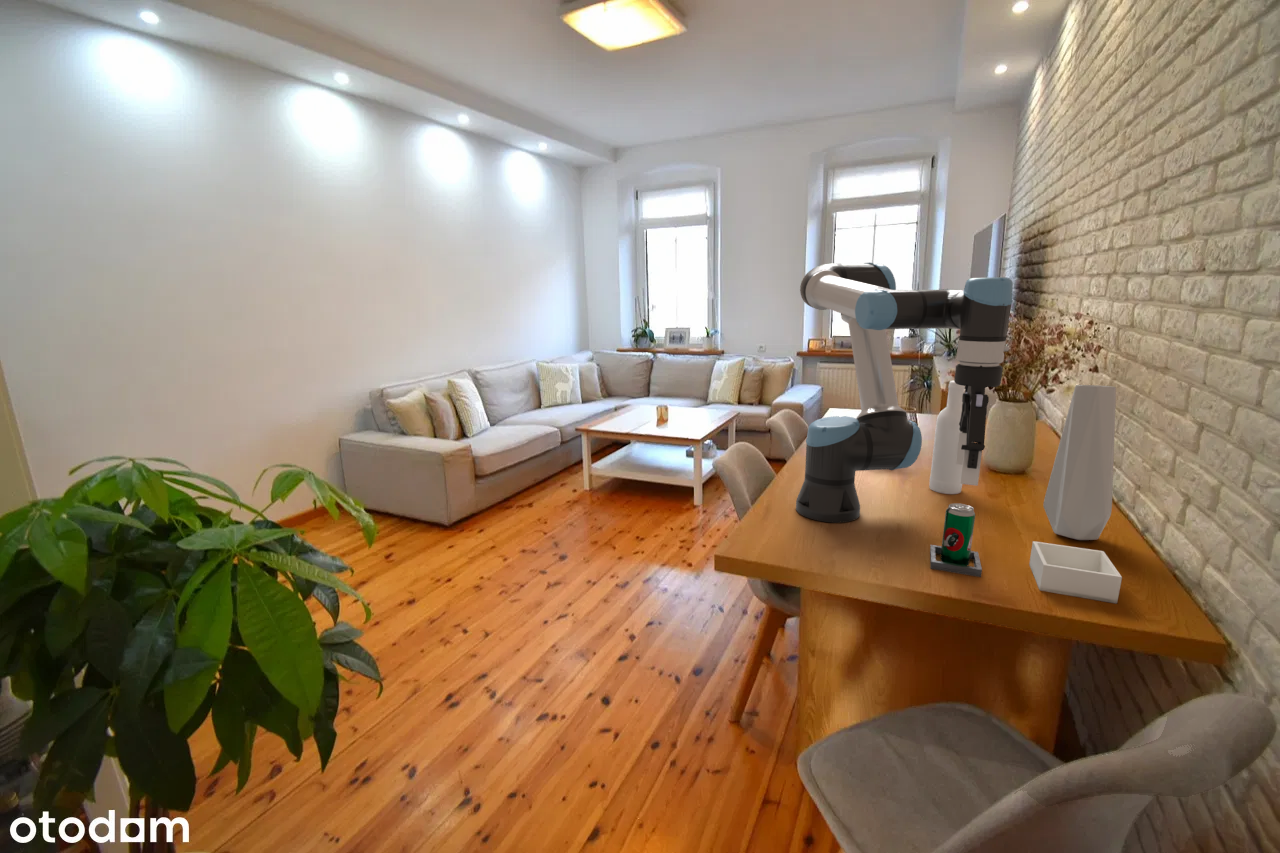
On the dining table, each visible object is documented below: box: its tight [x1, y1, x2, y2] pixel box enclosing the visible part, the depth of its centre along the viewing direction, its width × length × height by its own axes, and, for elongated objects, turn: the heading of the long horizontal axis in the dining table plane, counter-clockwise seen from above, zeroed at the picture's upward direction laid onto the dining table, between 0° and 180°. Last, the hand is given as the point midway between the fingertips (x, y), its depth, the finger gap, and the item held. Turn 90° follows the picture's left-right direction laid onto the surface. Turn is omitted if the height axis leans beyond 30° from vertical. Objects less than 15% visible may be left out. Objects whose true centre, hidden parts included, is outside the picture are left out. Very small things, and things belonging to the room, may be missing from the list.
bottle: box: [928, 380, 965, 495], centre depth 154 cm, size 8×8×30 cm
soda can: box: [939, 503, 976, 566], centre depth 113 cm, size 5×5×12 cm
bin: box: [1028, 540, 1123, 604], centre depth 106 cm, size 11×11×5 cm
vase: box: [1043, 384, 1117, 541], centre depth 125 cm, size 12×12×33 cm
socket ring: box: [929, 544, 983, 578], centre depth 114 cm, size 9×9×2 cm
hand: (966, 474), depth 111 cm, fingers open, 13 cm apart
